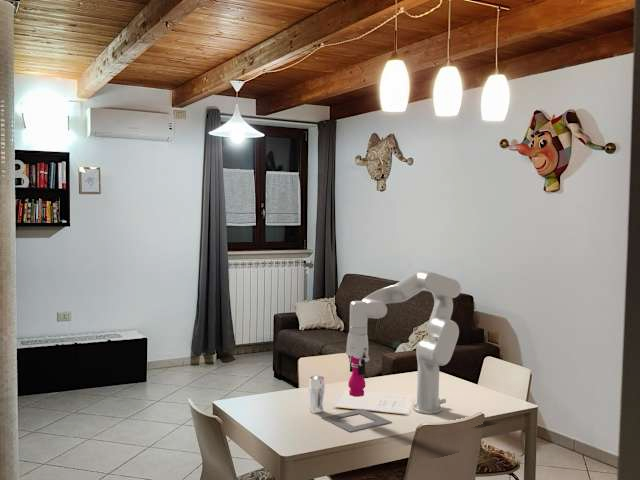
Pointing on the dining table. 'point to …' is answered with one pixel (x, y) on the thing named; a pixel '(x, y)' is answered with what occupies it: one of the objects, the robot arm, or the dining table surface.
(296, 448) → the dining table surface
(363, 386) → the pepper mill
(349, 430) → the letter o mat
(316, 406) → the beer glass
